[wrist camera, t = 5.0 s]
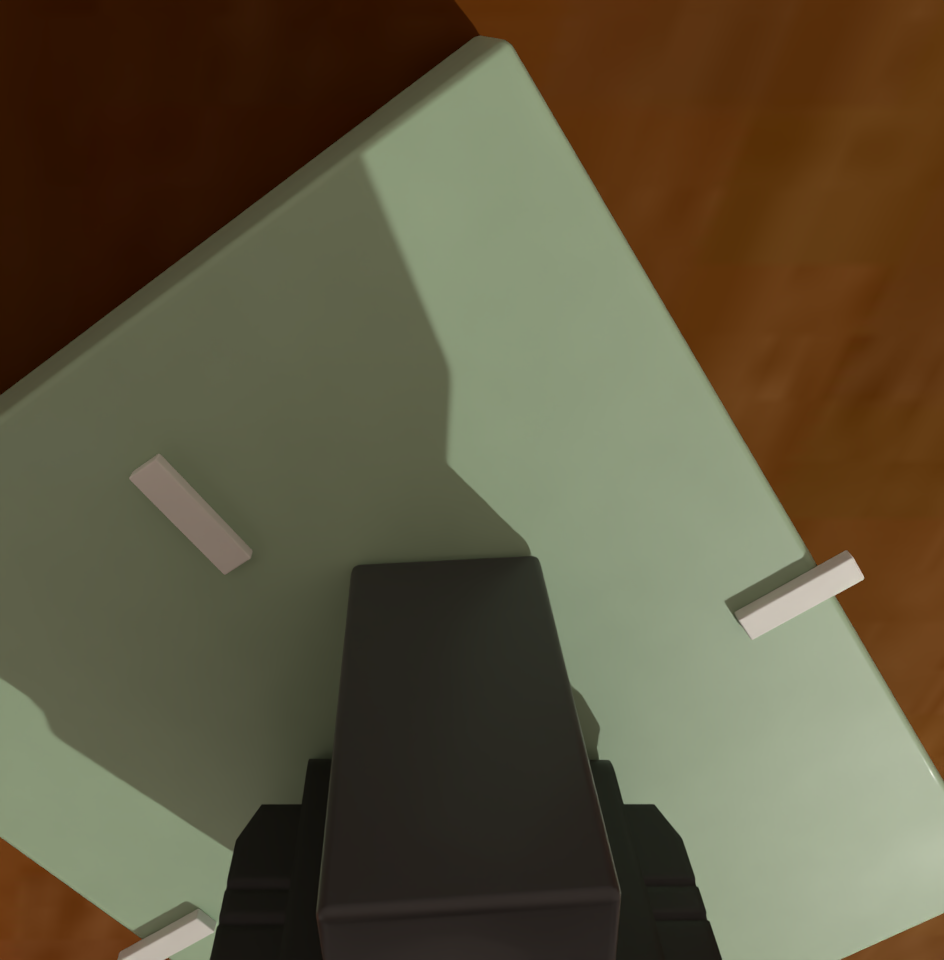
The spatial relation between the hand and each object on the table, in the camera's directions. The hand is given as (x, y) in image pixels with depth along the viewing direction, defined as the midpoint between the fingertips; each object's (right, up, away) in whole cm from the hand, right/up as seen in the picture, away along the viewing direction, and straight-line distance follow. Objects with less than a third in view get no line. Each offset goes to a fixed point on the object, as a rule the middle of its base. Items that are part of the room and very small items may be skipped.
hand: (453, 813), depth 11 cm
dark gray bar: (0, 0, 0) cm, 0 cm away
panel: (0, +2, +3) cm, 3 cm away
